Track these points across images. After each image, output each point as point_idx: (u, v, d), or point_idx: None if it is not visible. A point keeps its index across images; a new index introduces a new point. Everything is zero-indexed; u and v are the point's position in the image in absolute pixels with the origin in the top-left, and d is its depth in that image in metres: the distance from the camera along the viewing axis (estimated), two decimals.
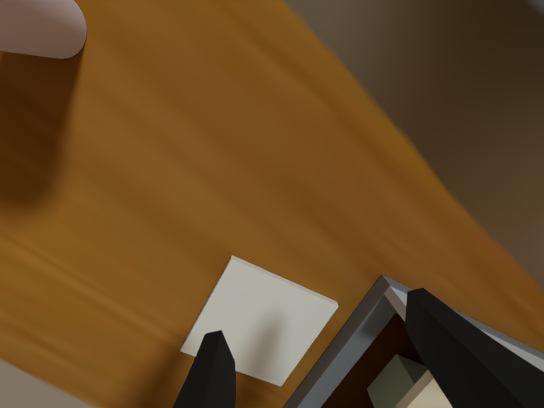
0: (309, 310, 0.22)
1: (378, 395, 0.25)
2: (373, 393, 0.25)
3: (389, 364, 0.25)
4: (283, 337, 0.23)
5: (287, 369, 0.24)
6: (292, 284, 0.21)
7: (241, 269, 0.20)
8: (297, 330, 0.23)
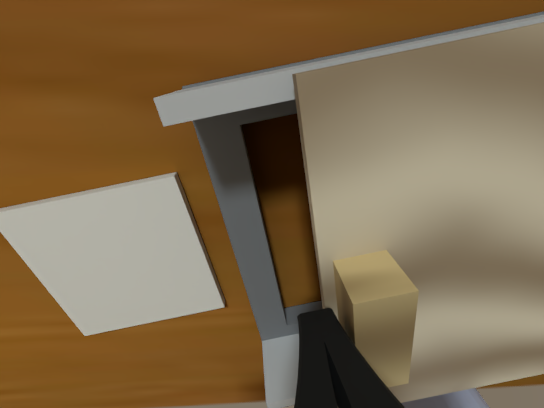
0: (147, 207, 0.14)
1: None
2: None
3: None
4: (159, 258, 0.16)
5: (209, 287, 0.17)
6: (91, 191, 0.14)
7: (13, 218, 0.14)
8: (164, 240, 0.15)
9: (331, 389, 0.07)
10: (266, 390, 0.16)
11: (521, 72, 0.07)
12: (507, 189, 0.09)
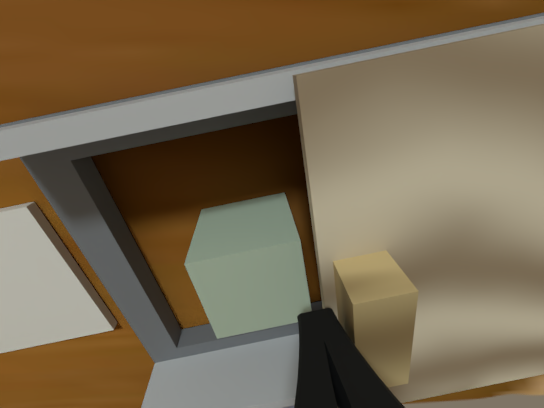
0: (6, 237, 0.14)
1: None
2: None
3: None
4: (32, 284, 0.16)
5: (92, 311, 0.17)
6: None
7: None
8: (33, 267, 0.15)
9: (331, 389, 0.07)
10: None
11: (520, 73, 0.07)
12: (506, 190, 0.09)
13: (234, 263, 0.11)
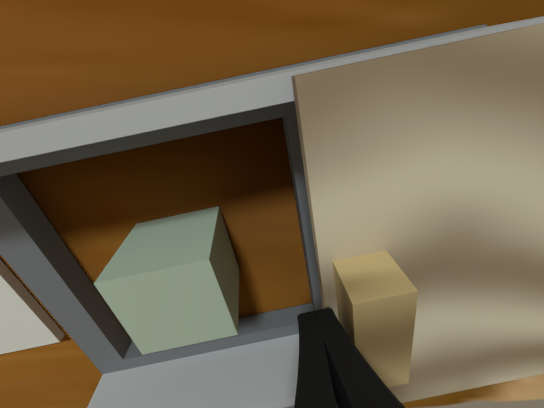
0: None
1: None
2: None
3: None
4: None
5: (35, 323, 0.17)
6: None
7: None
8: None
9: (331, 389, 0.07)
10: None
11: (519, 73, 0.07)
12: (506, 189, 0.09)
13: (145, 282, 0.11)
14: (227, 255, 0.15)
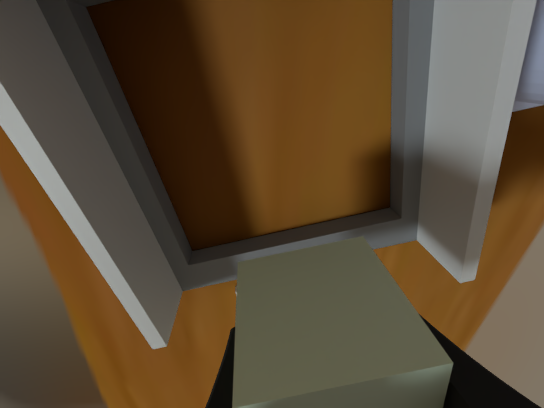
0: None
1: None
2: None
3: None
4: None
5: None
6: None
7: None
8: None
9: None
10: (451, 273, 0.15)
11: None
12: None
13: None
14: (304, 286, 0.09)
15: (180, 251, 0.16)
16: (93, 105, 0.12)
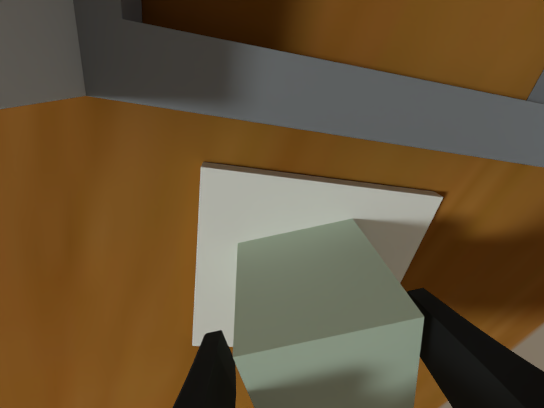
0: (235, 218, 0.11)
1: None
2: None
3: None
4: None
5: (394, 202, 0.11)
6: (196, 260, 0.12)
7: (202, 331, 0.13)
8: (289, 221, 0.11)
9: None
10: None
11: None
12: None
13: None
14: (297, 261, 0.09)
15: None
16: None
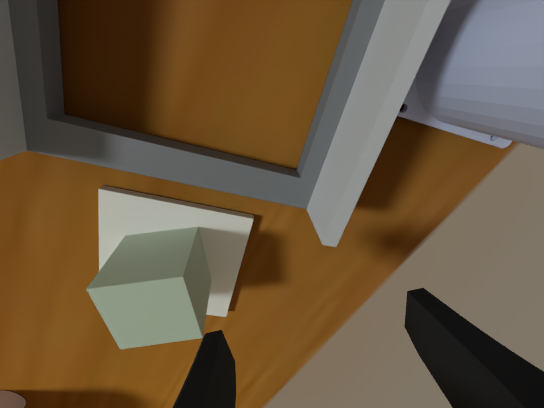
0: (122, 220, 0.17)
1: None
2: None
3: None
4: None
5: (222, 219, 0.18)
6: (100, 244, 0.18)
7: None
8: (157, 224, 0.18)
9: None
10: (319, 236, 0.14)
11: None
12: None
13: (116, 325, 0.15)
14: (149, 248, 0.16)
15: (43, 94, 0.13)
16: None
